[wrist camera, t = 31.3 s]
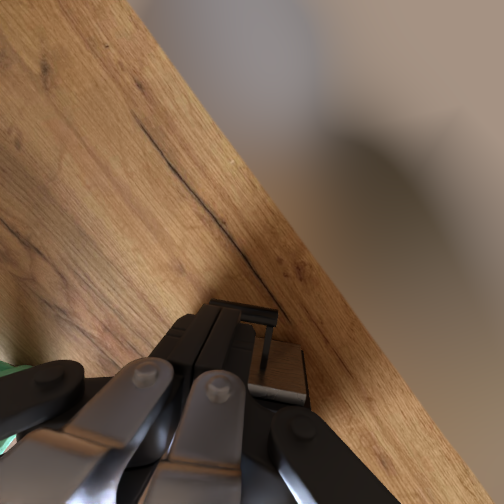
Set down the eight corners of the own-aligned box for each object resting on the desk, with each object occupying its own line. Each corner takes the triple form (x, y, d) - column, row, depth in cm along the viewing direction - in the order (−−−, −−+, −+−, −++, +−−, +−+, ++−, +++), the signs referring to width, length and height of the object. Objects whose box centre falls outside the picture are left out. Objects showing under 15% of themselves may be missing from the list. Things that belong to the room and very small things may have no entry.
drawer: (191, 275, 27) (162, 304, 21) (310, 295, 27) (320, 332, 20) (179, 424, 32) (152, 487, 26) (279, 445, 31) (279, 516, 25)
